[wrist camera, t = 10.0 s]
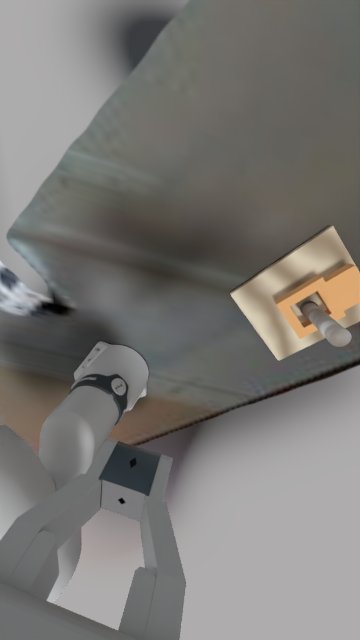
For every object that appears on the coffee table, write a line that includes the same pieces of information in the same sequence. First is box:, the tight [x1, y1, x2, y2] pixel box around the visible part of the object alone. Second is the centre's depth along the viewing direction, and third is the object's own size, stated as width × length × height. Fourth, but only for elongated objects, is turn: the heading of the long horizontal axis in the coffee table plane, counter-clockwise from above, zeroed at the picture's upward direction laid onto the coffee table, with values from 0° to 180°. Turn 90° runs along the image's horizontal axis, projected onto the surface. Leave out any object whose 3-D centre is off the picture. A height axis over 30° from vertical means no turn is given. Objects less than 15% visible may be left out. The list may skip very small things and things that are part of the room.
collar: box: [274, 263, 360, 339], centre depth 38 cm, size 12×8×2 cm, turn 129°
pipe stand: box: [230, 226, 360, 361], centre depth 36 cm, size 20×18×17 cm
